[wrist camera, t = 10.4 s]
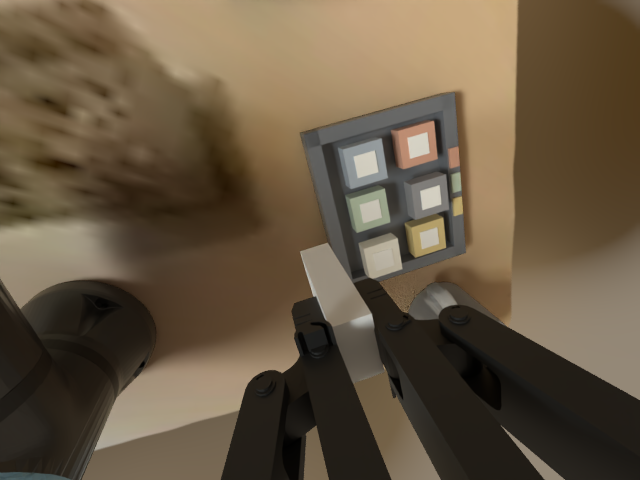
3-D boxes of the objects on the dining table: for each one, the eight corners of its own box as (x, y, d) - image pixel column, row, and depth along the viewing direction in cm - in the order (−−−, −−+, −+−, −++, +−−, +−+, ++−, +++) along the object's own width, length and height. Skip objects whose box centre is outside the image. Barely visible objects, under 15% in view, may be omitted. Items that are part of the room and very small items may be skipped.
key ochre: (408, 251, 45) (416, 258, 44) (404, 222, 44) (412, 228, 42) (438, 242, 46) (446, 248, 44) (435, 213, 44) (443, 217, 42)
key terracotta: (396, 166, 41) (403, 169, 39) (390, 130, 39) (398, 131, 37) (429, 156, 41) (438, 159, 39) (425, 120, 39) (434, 120, 37)
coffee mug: (469, 321, 55) (514, 364, 46) (414, 345, 54) (449, 393, 45) (458, 253, 49) (507, 286, 40) (397, 278, 48) (432, 317, 39)
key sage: (352, 227, 42) (357, 233, 40) (345, 195, 41) (350, 199, 39) (384, 217, 43) (390, 222, 41) (378, 185, 41) (385, 188, 39)
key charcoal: (408, 215, 42) (416, 220, 40) (403, 181, 40) (411, 185, 38) (440, 205, 42) (449, 209, 40) (436, 171, 40) (446, 174, 38)
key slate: (345, 185, 39) (351, 189, 37) (337, 147, 37) (343, 149, 35) (381, 174, 39) (388, 178, 37) (374, 137, 37) (382, 138, 35)
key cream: (364, 272, 43) (370, 280, 41) (358, 243, 42) (364, 249, 40) (395, 262, 44) (403, 269, 42) (390, 232, 42) (398, 238, 40)
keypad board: (338, 284, 47) (344, 294, 44) (299, 132, 38) (303, 134, 36) (455, 245, 48) (467, 253, 46) (442, 93, 40) (456, 91, 37)
